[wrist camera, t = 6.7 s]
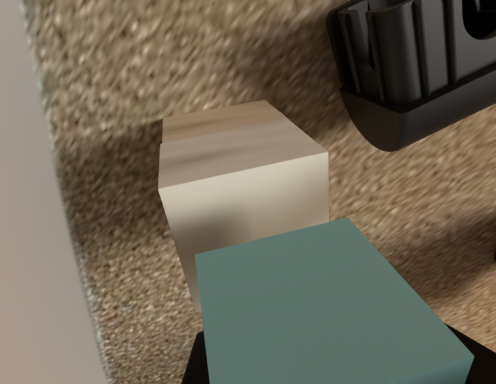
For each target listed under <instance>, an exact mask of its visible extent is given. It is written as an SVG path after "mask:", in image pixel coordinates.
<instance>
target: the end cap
mask: <svg viewBox="0 0 496 384" xmlns="http://www.w3.org/2000/svg"><path fill="white" fill-rule="evenodd" d="M326 21H327V29H328V33H329V38H330V42H331V46H332V50H333V54H334V58H335V62H336V66H337V70H338V74H339V78H340V82H341V85H342V87H341V88H340V92H341V96H342V99H343V102H344V104H345V107H346V109H347V111H348V113H349V116H350V117H351V119H352V121H353V123H354V124H355V126H356V127H357V129H358V130H359V132H360V133H361V134H362V135H363V137H364V138H365V139H366V140H367V141H368V142H369V143H370V144H372V145H373V146H375V147H376V148H378V149H380V150H382V151H387V152H393V151H398V150H400V149H402V148H404V147H406V146H408V145H410V144H412V143H414V142H416V141H418V140H420V139H422V138H425V137H427V136H429V135H431V134H433V133H435V132H437V131H439V130H441V129H443V128H445V127H447V126H449V125H451V124H454V123H456V122H458V121H460V120H462V119H464V118H466V117H468V116H470V115H472V114H474V113H476V112H478V111H481V110H483V109H485V108H487V107H489V106H491V105H493V104H495V103H496V0H352V1H350V2H348V3H346V4H344V5H342V6H339V7H337V8H335V9H333V10H332V11H331V12H330V13H329V14H328V17H327V19H326Z"/></svg>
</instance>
